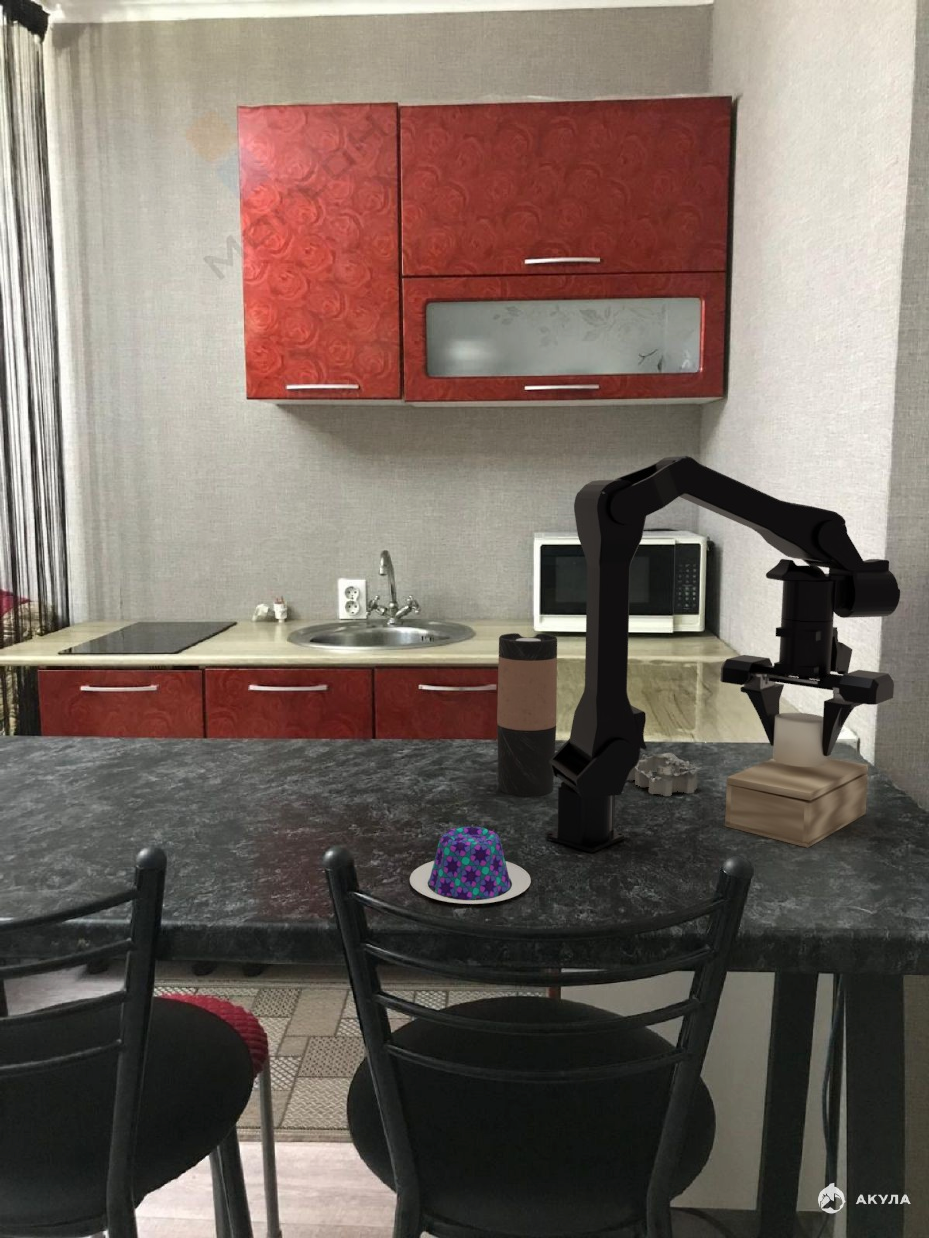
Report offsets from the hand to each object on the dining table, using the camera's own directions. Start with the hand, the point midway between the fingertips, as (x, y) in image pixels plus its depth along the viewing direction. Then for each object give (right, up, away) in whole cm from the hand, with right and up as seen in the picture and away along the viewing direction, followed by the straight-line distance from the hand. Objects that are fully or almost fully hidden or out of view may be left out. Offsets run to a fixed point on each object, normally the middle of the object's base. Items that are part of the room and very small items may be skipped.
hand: (800, 750), depth 116 cm
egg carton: (-13, -7, +16) cm, 22 cm away
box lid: (0, -3, 0) cm, 3 cm away
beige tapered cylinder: (0, -1, 0) cm, 1 cm away
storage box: (0, -8, +1) cm, 8 cm away
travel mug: (-31, -7, +13) cm, 35 cm away
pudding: (-39, -11, -18) cm, 44 cm away
